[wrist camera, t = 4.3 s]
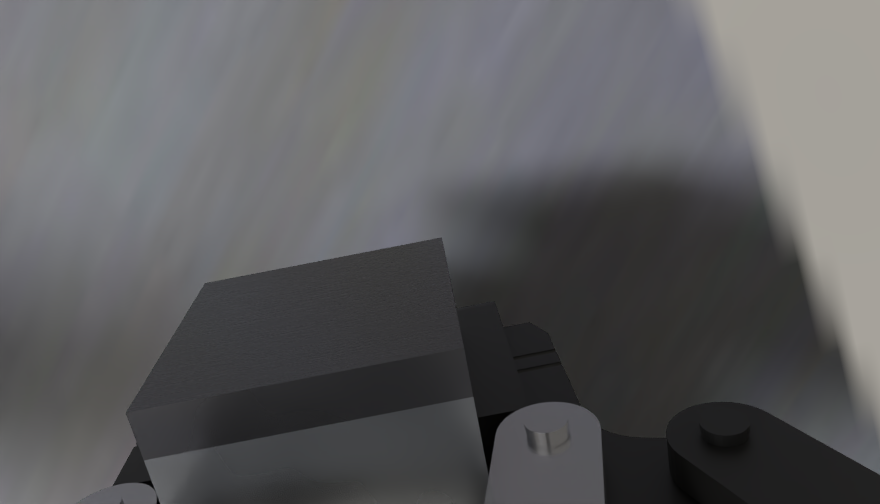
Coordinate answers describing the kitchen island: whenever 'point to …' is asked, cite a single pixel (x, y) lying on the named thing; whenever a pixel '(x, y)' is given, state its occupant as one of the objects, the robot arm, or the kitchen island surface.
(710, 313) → the kitchen island surface
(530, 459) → the robot arm
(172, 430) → the shaft
